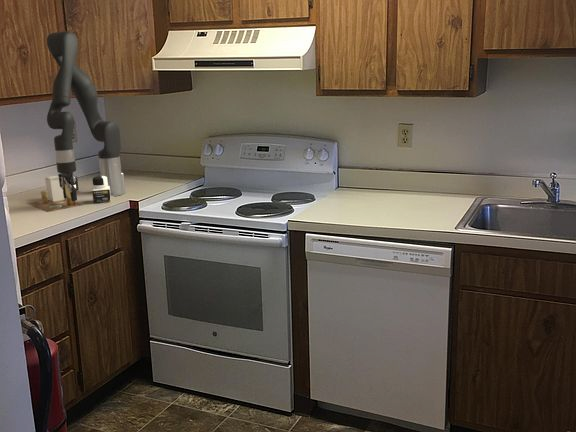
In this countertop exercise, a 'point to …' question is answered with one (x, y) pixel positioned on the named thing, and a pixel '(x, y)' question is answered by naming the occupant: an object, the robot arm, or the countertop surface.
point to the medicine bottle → (101, 190)
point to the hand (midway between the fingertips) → (70, 199)
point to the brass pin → (69, 197)
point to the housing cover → (54, 188)
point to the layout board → (51, 203)
